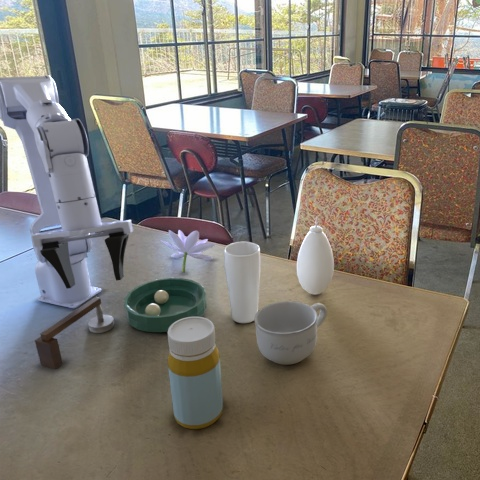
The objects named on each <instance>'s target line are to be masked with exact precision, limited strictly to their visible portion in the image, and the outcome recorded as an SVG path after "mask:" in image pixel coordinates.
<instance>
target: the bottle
mask: <svg viewBox="0 0 480 480" xmlns="http://www.w3.org/2000/svg"><path fill="white" fill-rule="evenodd" d="M215 329H216V328H215V325H214V323H213V321H211V319H209V318H207V317H203V316H202V317H186V318H183V319H180V320H178V321H176V322H174V323H173V324H172V325H171V326H170V327H169V329H168V331H167V341H168V342H167V343H168V347H169V350H168V351H169V354H168V357H167V368H168V369H167V370H168V379H169V385H170V392H171V402H172V410H173V416H174V420H175V422H176V423H177V424H178V425H179V426H181V427H183V428H185V429H189V430H201V429H205V428H208V427H209V426H212V425H213V424H214V423H215V422H216V421H217V420H218V419H220V417H221V415H222V414H223V410H224V400H223V386H222V372H221V371H222V370H221V359H220V358H221V356H220V351H219V349H218V346H217V345H216V331H215Z"/></svg>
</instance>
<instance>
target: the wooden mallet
mask: <svg viewBox="0 0 480 480" xmlns="http://www.w3.org/2000/svg"><path fill="white" fill-rule="evenodd" d="M94 309H95V312H96V313H95V314H96V316H94V317H92V318H91V319H89V320H88V323H87V324H88V330H89V331H90V333H92V334H93V333H94V334H101V333H106V332H108V331H110V330H112V329H113V328H114V327H115V320H114V317H113V316H112V315H111V314H103V308H102V299H101V297H97V296H93V297H92V298H90V299H89V300H87V301H86V302H84V303H83V304H81V305H80V306H78V307H77V308H75V310H73V311H72V312H70V313H69V314H68V315H66V316H64V317H63V318H62V319H60V320H59V321H56V322H55V323H54V324H52V325H51V326H50V327H47V329H45V330H44V331H42V332H41V333H40V334H39V335H40V336H39V337H38V338H36V339H35V340H34V344H35V347H36V351H37V355H38V359H39V363H40V366H41V367H45V368H50V369H54V370H56V369H58V368H59V367H61V366H62V365H63V358H62V355H61V351H60V346H59V341H58V338H55V336H57V335H58V334H60V333H61V332H63V331H64V330H65V329H67V328H69V327H70V326H72V325H73V324H74V323H76V322H77V321H78V320H80V319H81V318H83V317H84V316H86V315H87V314H88V313H90V312H92V311H93V310H94Z"/></svg>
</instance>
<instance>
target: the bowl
mask: <svg viewBox="0 0 480 480" xmlns="http://www.w3.org/2000/svg"><path fill="white" fill-rule="evenodd" d="M159 290H164V291H166V292H167V293H168V295H169V298H168V301H167V302H166V303H164V304H158V303H157V302H156V301H155V299H154V295H155V293H156V292H157V291H159ZM123 299H124V300H123V309H124V315H125V320H126V321H127V323H128V324H129V325H130V326H131V327H133V328H134V329H136V330H138V331H143V332H148V333H167V332H168V329H169V327H170V326H171V325H172V324H173V323H174V322H176V321H178V320H180V319H183V318H186V317H203V316H204V315H205V314H206V311H207V308H208V304H207V293H206V290H205V287H204V286H203V285H201V283H200V282H197V281H195V280H193V279H189V278H184V277H167V278H158V279H154V280H150V281H147V282H145V283H142V284H140V285H138V286H135V287H134V288H133V289H132V290H130V291H129V292H128V293H127V294H126V296H125V297H124V298H123ZM149 304H157V305H158V306H159V307H160V310H161V311H160V314H159V316H148V315H146V313H145V309H146V307H147V306H148V305H149Z"/></svg>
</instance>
